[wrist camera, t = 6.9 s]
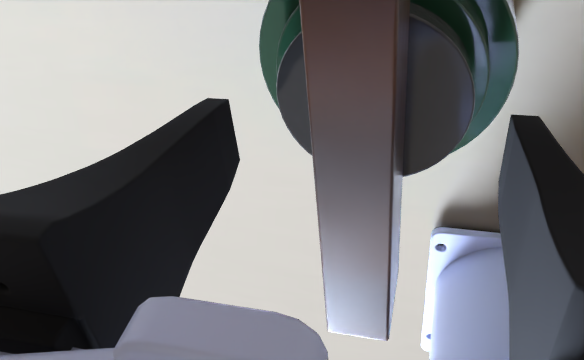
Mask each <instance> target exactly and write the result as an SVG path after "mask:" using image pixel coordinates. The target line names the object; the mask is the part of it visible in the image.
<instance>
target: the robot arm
mask: <svg viewBox="0 0 584 360" xmlns="http://www.w3.org/2000/svg"><path fill="white" fill-rule="evenodd" d="M239 161H240V158H239V153H238V147H237V142H236V137H235V132H234V126H233V121H232V116H231V110H230V105H229V100H228V99H212V98H207V99H205V100H203V101H201V102H200V103H198V104H196V105H195V106H193V107H191V108H190V109H188V110H187V111H185V112H184V113H182V114H180V115H179V116H177V117H176V118H174V119H173V120H171V121H170V122H168V123H166V124H165V125H163V126H162V127H160V128H159V129H157V130H156V131H154V132H152V133H151V134H149V135H147V136H145V137H144V138H142V139H140V140H139V141H137V142H135V143H133V144H132V145H130V146H128V147H127V148H125V149H123V150H121V151H119V152H117V153H115V154H113V155H111V156H109V157H107V158H105V159H103V160H101V161H99V162H97V163H95V164H92V165H90V166H88V167H85V168H83V169H80V170H77V171H75V172H72V173H70V174H67V175H64V176H62V177H59V178H57V179H54V180H51V181H48V182H45V183H41V184H38V185H35V186H32V187H28V188H25V189H21V190H17V191H14V192H10V193H5V194H1V195H0V360H328V352H327V350H326V348H325V346H324V344H323V342H322V340H321V338H320V336H319V335H318V333H317V332H315V331H314V330H313V329H311V328H310V327H308V326H307V325H306V324H304V323H303V322H302V321H300V320H299V319H296V318H293V317H290V316H287V315H283V314H280V313H277V312H272V311H266V310H259V309H253V308H246V307H240V306H233V305H227V304H220V303H214V302H207V301H201V300H194V299H188V298H181V297H180V294H181V291H182V288H183V286H184V283H185V281H186V278H187V275H188V273H189V270H190V268H191V265H192V262H193V260H194V258H195V256H196V254H197V252H198V250H199V248H200V246H201V244H202V242H203V240H204V238H205V236H206V234H207V233H208V231H209V229H210V227H211V225H212V223H213V221H214V219H215V217H216V216H217V214H218V212H219V210H220V208H221V206H222V204H223V202H224V200H225V198H226V196H227V194H228V192H229V190H230V188H231V185H232V182H233V179H234V177H235V174H236V170H237V167H238V164H239ZM498 217H499V226H500V233H494V232H485V231H475V230H466V229H456V228H447V227H438V228H435V229H434V230H433V231H432V233H431V241H430V252H429V263H428V274H427V284H426V295H425V306H424V317H423V327H422V338H421V347H422V348H423V349H424V350H425V351H428V352H430V356H429V360H584V174H583V173H582V172H581V171H580V169H579V168H578V167H577V166H576V165H575V163H574V162H573V161H572V160H571V159H570V157H569V156H568V155H567V154H566V152H565V151H564V150H563V149H562V147H561V146H560V145H559V143H558V142H557V140H556V139H555V138H554V136H553V135H552V134H551V132H550V131H549V129H548V128H547V126H546V125H545V124H544V122H543V121H542V120H541V118H540V117H539V116H526V115H511V118H510V123H509V128H508V134H507V139H506V145H505V150H504V155H503V161H502V166H501V172H500V177H499V193H498ZM438 244H444V245H442V246H441V245H438Z"/></svg>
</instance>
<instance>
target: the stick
mask: <svg viewBox="0 0 584 360" xmlns="http://www.w3.org/2000/svg"><path fill="white" fill-rule="evenodd" d="M299 3H300V15H301V26H302V38H303V50H304V62H305V73H306V85H307V97H308V109H309V120H310V132H311V144H312V156H313V167H314V179H315V191H316V202H317V214H318V226H319V238H320V249H321V261H322V273H323V285H324V296H325V308H326V320H327V330H328V331H329V332H333V333H340V334H346V335H352V336H359V337H365V338H371V339H377V340H384V341H388V339H389V334H390V327H391V320H392V313H393V306H394V299H395V292H396V285H397V277H398V267H399V243H400V220H401V197H402V174H403V151H404V128H405V105H406V82H407V59H408V36H409V13H410V0H299Z"/></svg>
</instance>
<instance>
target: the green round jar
mask: <svg viewBox="0 0 584 360" xmlns="http://www.w3.org/2000/svg"><path fill="white" fill-rule="evenodd" d="M259 50H260V62H261V67H262V71H263V76H264V79H265V82H266V85H267V87H268V90H269V92H270V94H271V96H272V98H273V100H274V102H275V103H276V105H277V106H278V108H279V110H280V112H281V115H282V118H283V120H284V122H285V124H286V126H287V128H288V130H289V131H290V133H291V134H292V136H293V137H294V138H295V139H296V141H297V142H298V143H299V144H300V145H301V146H302V147H303V148H304V149H305V150H306V151H307V152H308V153H309V154H311V155H312V144H311V132H310V120H309V109H308V97H307V85H306V73H305V62H304V50H303V38H302V26H301V15H300V3H299V0H269V2H268V5H267V7H266V10H265V13H264V16H263V20H262V25H261V29H260V41H259ZM518 57H519V45H518V32H517V24H516V17H515V9H514V1H513V0H410V13H409V36H408V59H407V82H406V105H405V128H404V151H403V174H402V177H404V176H408V175H412V174H415V173H418V172H421V171H423V170H425V169H428V168H430V167H431V166H433V165H435V164H437V163H438V162H440V161H441V160H442V159H444V158H445V157H446V156H447V155H448V154H450V153H452V152H454V151H456V150H458V149H459V148H461V147H463V146H465V145H466V144H468V143H469V142H470V141H472V140H473V139H474V138H476V137H477V136H478V135H479V134H480V133H481V132H482V131H483V130H484V129H486V128H487V127H488V126H489V125H490V123H491V122H492V121H493V120H494V118H495V117H496V116H497V115H498V113H499V112H500V110H501V109H502V107H503V105H504V104H505V102H506V100H507V98H508V96H509V94H510V91H511V89H512V87H513V84H514V80H515V76H516V72H517V67H518Z"/></svg>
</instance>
